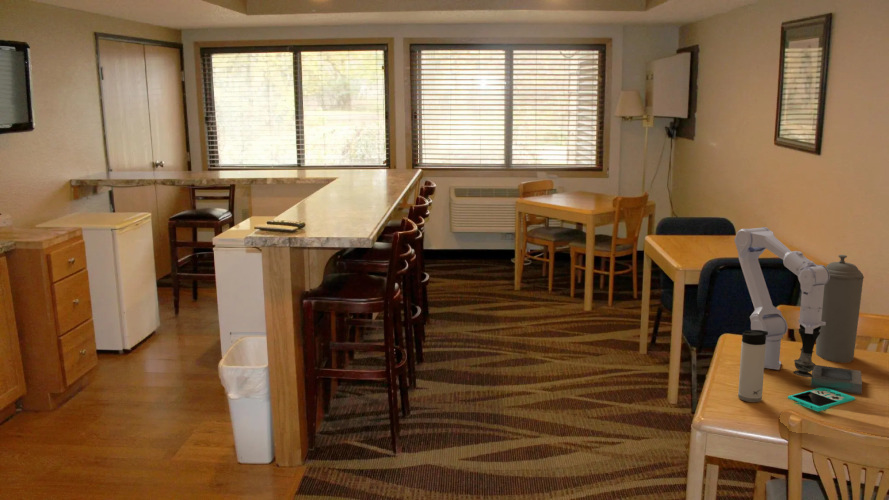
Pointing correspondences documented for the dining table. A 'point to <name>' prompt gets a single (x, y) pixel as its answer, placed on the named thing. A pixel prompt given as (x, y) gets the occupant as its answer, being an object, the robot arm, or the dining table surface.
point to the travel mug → (752, 365)
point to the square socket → (837, 379)
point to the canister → (840, 312)
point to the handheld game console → (820, 398)
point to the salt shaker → (804, 364)
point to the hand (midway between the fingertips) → (807, 351)
